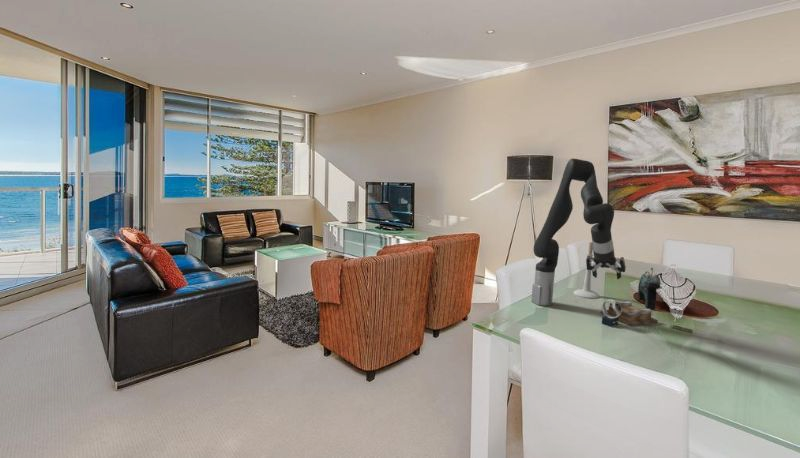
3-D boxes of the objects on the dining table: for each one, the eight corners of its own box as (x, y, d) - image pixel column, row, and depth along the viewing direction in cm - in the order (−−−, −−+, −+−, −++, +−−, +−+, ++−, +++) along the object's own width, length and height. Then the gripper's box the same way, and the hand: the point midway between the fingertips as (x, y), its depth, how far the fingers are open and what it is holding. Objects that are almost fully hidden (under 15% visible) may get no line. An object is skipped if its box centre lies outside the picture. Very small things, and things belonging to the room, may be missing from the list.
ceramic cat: (658, 311, 185) (663, 272, 182) (643, 310, 187) (648, 270, 184) (646, 299, 204) (651, 263, 201) (633, 297, 206) (637, 262, 203)
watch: (616, 328, 163) (618, 304, 162) (597, 322, 170) (600, 298, 168) (622, 325, 166) (625, 301, 165) (604, 319, 173) (606, 296, 171)
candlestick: (568, 291, 215) (573, 239, 210) (590, 291, 216) (595, 239, 212) (582, 298, 202) (587, 243, 198) (604, 298, 204) (610, 244, 199)
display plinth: (630, 326, 166) (631, 314, 165) (601, 313, 181) (602, 302, 181) (657, 322, 171) (659, 311, 170) (627, 310, 186) (628, 299, 185)
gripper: (624, 242, 152) (627, 272, 159) (585, 241, 160) (590, 270, 168) (622, 253, 147) (625, 284, 154) (582, 252, 155) (587, 281, 163)
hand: (607, 277), depth 161 cm, fingers open, 8 cm apart
